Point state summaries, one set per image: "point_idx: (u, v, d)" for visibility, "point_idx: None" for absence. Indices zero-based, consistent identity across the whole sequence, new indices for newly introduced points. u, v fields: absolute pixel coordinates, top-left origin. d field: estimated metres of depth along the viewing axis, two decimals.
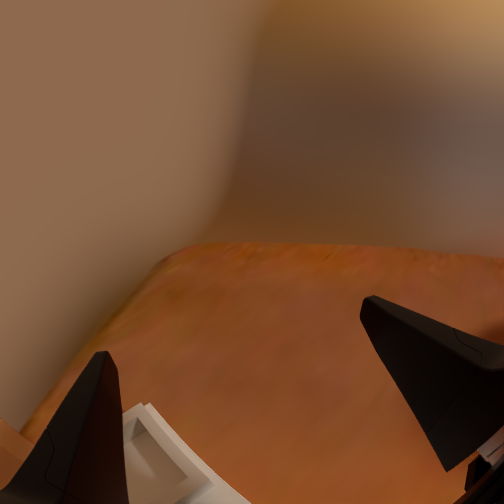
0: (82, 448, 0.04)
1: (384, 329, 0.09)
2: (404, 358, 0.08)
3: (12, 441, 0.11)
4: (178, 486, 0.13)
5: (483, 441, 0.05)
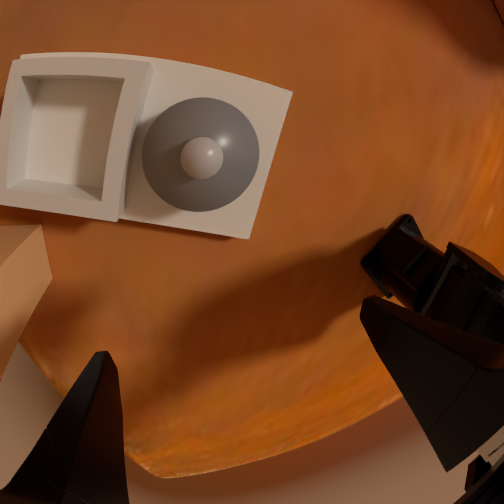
0: (82, 448, 0.04)
1: (384, 329, 0.09)
2: (404, 358, 0.08)
3: None
4: (121, 98, 0.11)
5: (483, 441, 0.05)
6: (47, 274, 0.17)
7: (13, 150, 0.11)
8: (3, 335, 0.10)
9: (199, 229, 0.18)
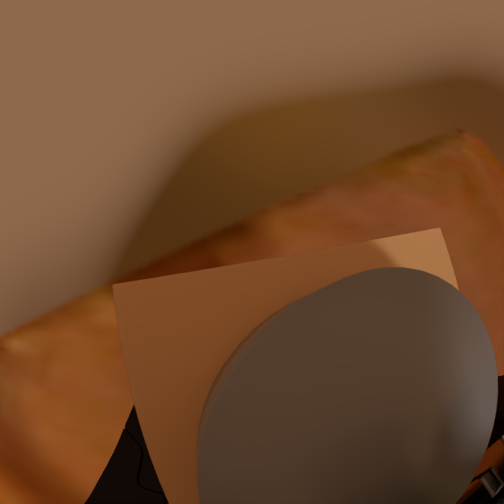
0: None
1: None
2: None
3: None
4: None
5: None
6: None
7: None
8: None
9: None
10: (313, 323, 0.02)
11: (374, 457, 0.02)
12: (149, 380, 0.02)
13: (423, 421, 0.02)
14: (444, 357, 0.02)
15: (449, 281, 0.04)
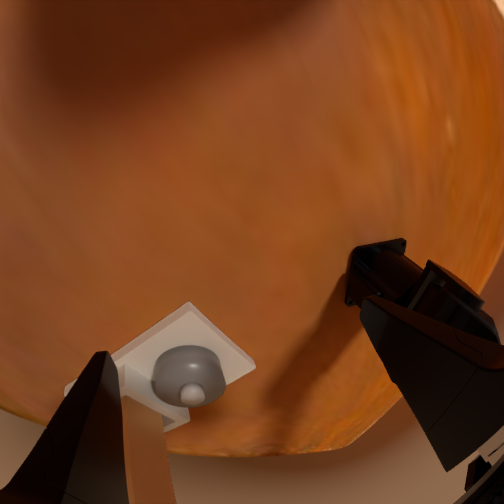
0: (82, 448, 0.04)
1: (384, 329, 0.09)
2: (404, 358, 0.08)
3: None
4: (135, 399, 0.21)
5: (483, 441, 0.05)
6: None
7: None
8: (158, 469, 0.18)
9: (228, 383, 0.27)
10: None
11: None
12: None
13: None
14: None
15: None
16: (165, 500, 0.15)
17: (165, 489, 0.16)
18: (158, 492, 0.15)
